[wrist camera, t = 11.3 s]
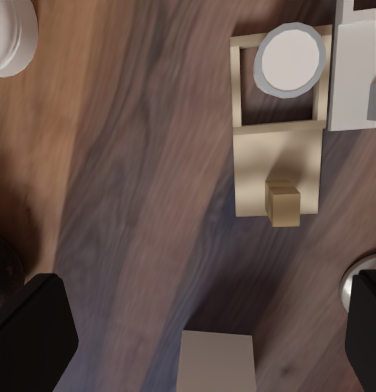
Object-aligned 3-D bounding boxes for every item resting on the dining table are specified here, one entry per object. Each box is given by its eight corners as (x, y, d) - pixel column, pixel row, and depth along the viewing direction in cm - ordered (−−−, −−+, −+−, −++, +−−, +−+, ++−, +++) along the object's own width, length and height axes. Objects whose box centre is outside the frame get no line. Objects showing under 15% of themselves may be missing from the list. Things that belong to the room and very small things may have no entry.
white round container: (268, 27, 32) (280, 7, 25) (317, 57, 32) (342, 44, 26) (237, 82, 34) (241, 77, 28) (283, 109, 35) (298, 110, 28)
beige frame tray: (314, 210, 38) (334, 232, 32) (235, 213, 40) (239, 235, 33) (325, 29, 31) (353, 8, 25) (229, 41, 33) (231, 25, 26)
